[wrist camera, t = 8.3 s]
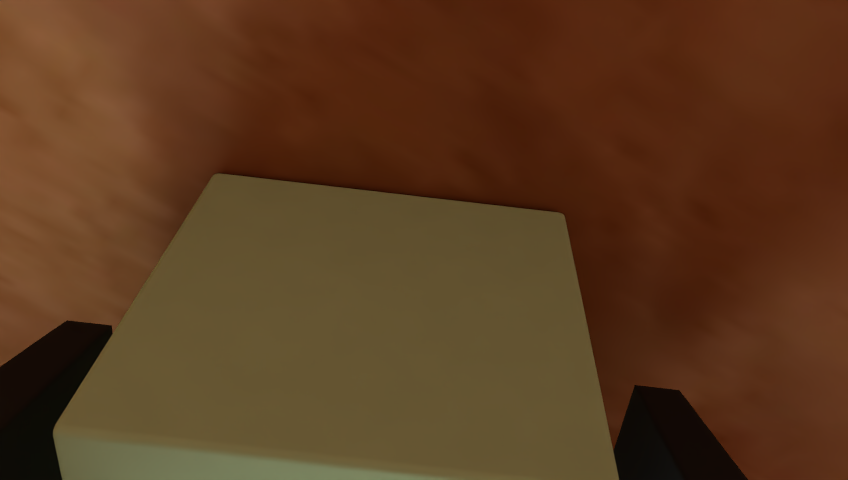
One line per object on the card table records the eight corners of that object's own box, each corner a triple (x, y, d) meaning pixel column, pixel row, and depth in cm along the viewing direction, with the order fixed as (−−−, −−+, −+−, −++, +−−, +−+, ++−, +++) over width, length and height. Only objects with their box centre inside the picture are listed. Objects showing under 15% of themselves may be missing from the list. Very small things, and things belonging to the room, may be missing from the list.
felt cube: (565, 210, 11) (626, 494, 7) (509, 458, 14) (527, 776, 9) (213, 169, 11) (46, 429, 7) (224, 426, 13) (110, 730, 9)
